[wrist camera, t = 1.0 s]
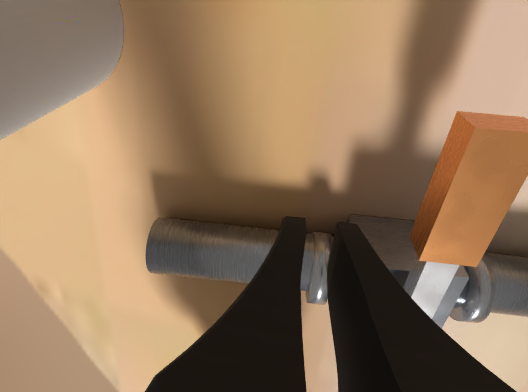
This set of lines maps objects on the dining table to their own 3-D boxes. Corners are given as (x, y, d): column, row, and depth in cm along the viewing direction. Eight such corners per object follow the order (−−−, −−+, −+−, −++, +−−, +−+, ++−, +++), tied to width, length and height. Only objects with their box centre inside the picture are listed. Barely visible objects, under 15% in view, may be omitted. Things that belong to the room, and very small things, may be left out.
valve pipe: (589, 305, 24) (644, 368, 20) (169, 257, 26) (145, 307, 22) (643, 244, 21) (718, 305, 17) (161, 194, 22) (133, 239, 19)
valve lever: (418, 328, 20) (428, 361, 18) (369, 322, 20) (375, 354, 18) (523, 114, 13) (556, 134, 11) (447, 107, 13) (468, 126, 11)
